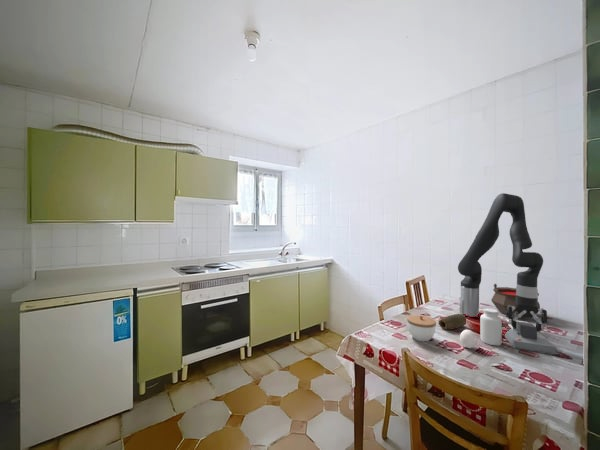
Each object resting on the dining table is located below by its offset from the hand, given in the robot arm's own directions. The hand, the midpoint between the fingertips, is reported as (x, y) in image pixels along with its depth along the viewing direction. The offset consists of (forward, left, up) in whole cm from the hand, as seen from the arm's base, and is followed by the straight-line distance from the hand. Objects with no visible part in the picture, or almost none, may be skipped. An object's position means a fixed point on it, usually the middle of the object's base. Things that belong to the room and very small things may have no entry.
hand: (525, 329), depth 117 cm
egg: (-26, -15, -6) cm, 30 cm away
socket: (0, 0, -6) cm, 6 cm away
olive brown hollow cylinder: (-28, +7, -7) cm, 30 cm away
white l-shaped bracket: (0, +9, -3) cm, 9 cm away
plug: (0, 0, -6) cm, 6 cm away
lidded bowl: (-45, -13, -6) cm, 47 cm away
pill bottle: (-15, -5, -6) cm, 17 cm away
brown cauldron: (+10, +43, -6) cm, 45 cm away
